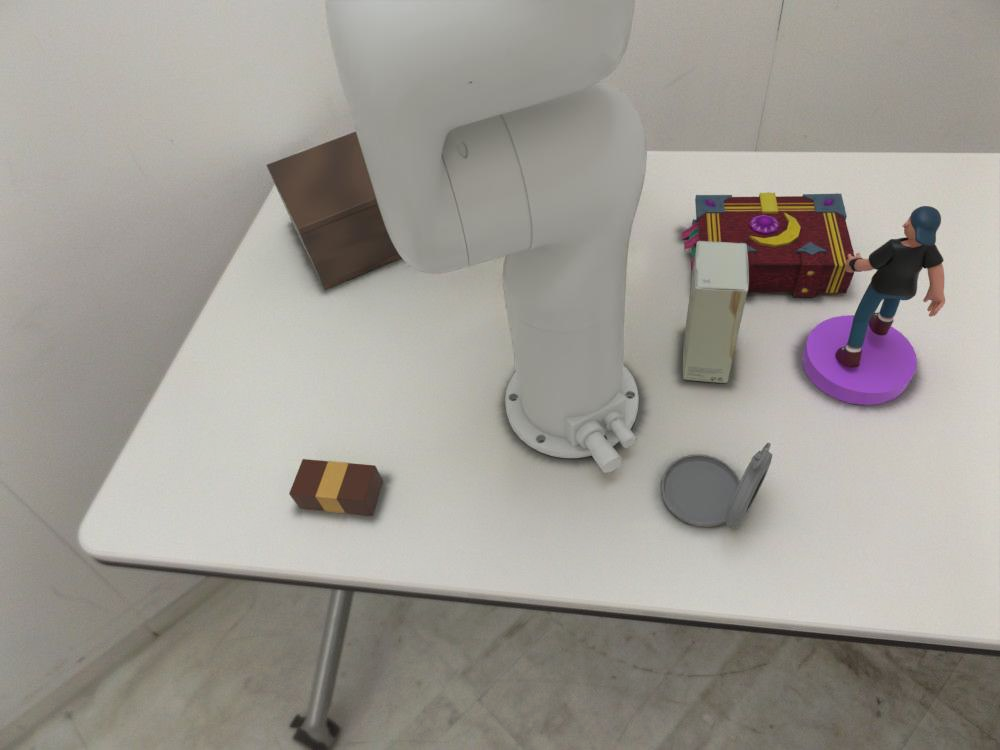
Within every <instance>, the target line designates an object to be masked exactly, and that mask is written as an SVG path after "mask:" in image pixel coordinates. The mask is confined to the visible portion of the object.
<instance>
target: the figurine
mask: <svg viewBox="0 0 1000 750" xmlns="http://www.w3.org/2000/svg"><path fill="white" fill-rule="evenodd" d="M941 223H942V215H941V213H940V211H939V210H938V209H937V208H936V207H933V206H930V205H922V206H921V205H920V206H919V207H917V208H915V209H913V210H912V212H911V214H910V216H909V217H908V219H907V220H906V221H905V222H904V224H903V225H902V226H901V227H902V228H904V229H903V234H904V236H905V237H900V238H890V239H889V240H887V241H886V242H885V243H883V244H882V245H881V246H879V247H878V248H876V249H875V250H874V251H872V252H871V253H869V255H868V258H863V257H861V254H860V252H856V253H855V255H854V256H855V257H853V256H851V254H848V260H847V261H846V265H845V266H846V272H850V273H853V272H854V273H855V272H856V273H861V272H870V271H873V270H876V271H875V273H874V274H873V275H872V277H871V279H870V283H869V284H868V286H867V288H866V289H865V292H864V294H863V295H862V297H861V299H860V301H859V303H858V306H857V308H856V311H855V313H854V315H853V314H851V315H850V314H849V315H839V316H834V317H830V318H828V319H827V318H826V319H825V320H823V321H821V322H820V323H818V324H817V325H816V326H815V327H814V328H812V329H811V332H810V333H809V335H808V337H807V339H806V342H805V345H804V348H803V351H802V355H801V363H802V367H803V370H804V372H805V374H806V376H807V378H808V379H809V380H810V381H811V383H812V384H813V385H814V386H815V387H816V388H817V389H819V390H820V391H821V392H823V393H825V394H826V395H828V396H829V397H831V398H834V399H836V400H838V401H841V402H843V403H848V404H852V405H859V406H875V405H880V404H881V405H882V404H885V403H888V402H891V401H893V400H895V399H896V398H898V397H900V396H901V394H903V392H904V391H906V389H907V388H908V385H909V384H910V382H911V380H912V378H913V376H914V375H915V373H916V370H917V365H918V358H917V354H916V352H915V349H914V346H913V345H912V343H911V342H910V340H908V338H907V337H905V335H904V334H903V333H902V332H900V331H899V330H898V329H896V328H895V327H893V323H894V317H895V316H896V315H897V311H898V308H899V305H900V303H901V301H909V300H911V299H913V298H914V297H916V296H917V292H918V280H919V275H920V272H921V271H922V270H923V269H926V270H927V276H928V281H929V286H928V289H927V291H926V295H925V296H924V298H923V300H922V301H923V303H927V302H928V301H931V302H930V304H929V305H928V307H927V309H926V310H927V311H928V312H929V313H928V317H935V316H937V315H938V313H939V312H940V311H941V309H942V308H943V307H944V306H945V304H946V297H945V270H944V265H943V262H944V257H943V255H942V254H941V253H940V251H939V249H938V246H937V245H936V243H937V232H938V230H939V228H940V226H941ZM881 303H882V304H881ZM880 304H881V306H880ZM879 306H880V309H879V312H876V311H877V309H878V308H879Z"/></svg>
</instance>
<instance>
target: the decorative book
mask: <svg viewBox="0 0 1000 750" xmlns="http://www.w3.org/2000/svg"><path fill="white" fill-rule="evenodd" d="M776 195H777V194H776V192H759V194H758V196H733V194H695V198H694V199H695V200H694V204H695V218H696V219H692V223H691V226H689V227H688V228H686V229H685V230H683V231H682V232H681V240H684V239H687V238H688V240H685V241H684V242H683V249H684V251H686V250H688V249H690V248H692V247H694V248H693V249H691V261H690V272H693V267H694V260H695V252H696V245H697V242H698V241H711V242H727V243H745V244H747V254H748V271H749V283H748V292H747V295H748V294H749V293H790V294H791V293H792V297H795V298H798V297H799V298H815V297H816V295H817V294H848V290H849V287H850V285H851V283H852V280H853V277H854V274H855V272H853V273H850V272H846V266H845V265H846V261H847V260H848V254H851V256H853V257H855V256H856V255H855V253H854V252H855V251H854V248H853V244H852V240H851V237H850V232H849V228H848V225H847V217H848V216H847V212H846V208H845V204H844V203H845V202H844V199H843V195H842V193H803V194H802V195H801V196H800V195H798V196H797V195H794V196H793V195H792V196H791V195H790V196H788V195H786V196H784V195H783V196H782V195H781V196H780V195H779V196H776Z"/></svg>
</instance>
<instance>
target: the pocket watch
mask: <svg viewBox="0 0 1000 750" xmlns="http://www.w3.org/2000/svg"><path fill="white" fill-rule="evenodd" d="M770 448H771V442H766V444H765V445H764V446H763V447H762V448H761V450H758V451H757V452H756V453H755V454H753V456H752V457H751V460H750V461H749V463H748V465H747V467H746V469H745V471H744V472H743V474H742V476H741V478H739V476H738V474H737V472H736V471H735V470H734V469H732V468H731V467H730V465H729V464H727V463H726V462H724V461H722V460H721V459H718V458H717V457H714V456H711V455H707V454H699V453H697V454H688V455H685V456H681V457H679V458H678V459H676V460H674V461H672V462H671V463H670V464H669V465H668V467H666V469H665V471H664V472H663V475H662V478H661V481H660V489H661V490H660V491H661V496H662V500H663V502H664V504H665V505H666V507H667V509H668V510H669V511H670V512H671V514H673V515H674V516H675V517H677V518H678V519H680V520H681V521H682V522H684V523H686V524H689V525H692V526H695V527H701V528H702V527H704V528H706V527H707V528H709V527H711V528H712V527H716V526H720V525H722V524H725V526H727V527H729V528H731V529H738V528H739V527H740V526H741V525H742V524H743V522H744V520H745V518H746V516H747V515H748V512H749V511H750V509H751V507H752V505H753V503H754V501H755V499H756V498H757V495H758V492H759V491H760V488H761V487H762V485H763V483H764V481H765V478H766V476H767V474H768V471H769V469H770V466H771V463H772V459H773V454H772V453H771V452H770V451H769V450H770Z"/></svg>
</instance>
